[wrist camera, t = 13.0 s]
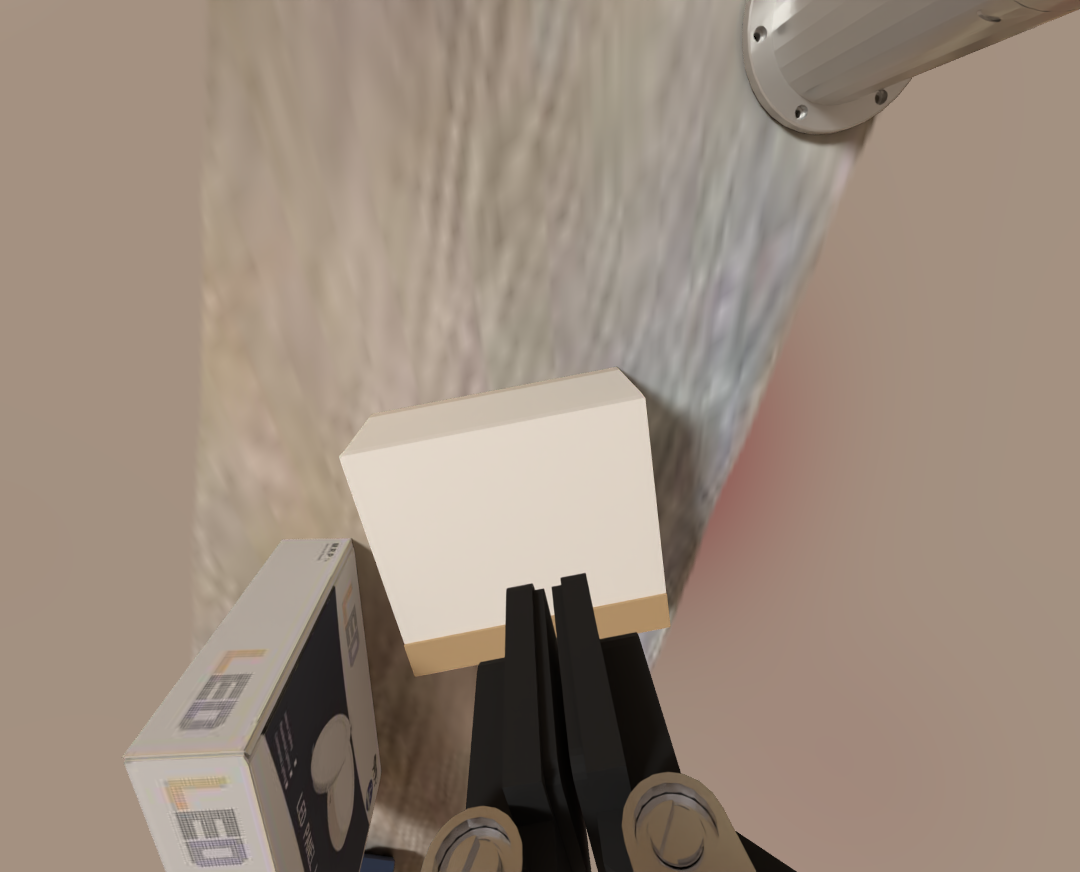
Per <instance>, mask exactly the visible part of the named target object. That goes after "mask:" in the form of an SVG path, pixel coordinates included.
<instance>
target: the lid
mask: <svg viewBox="0 0 1080 872" xmlns="http://www.w3.org/2000/svg"><path fill="white" fill-rule="evenodd" d="M339 459H340V462H341V464H342V467H343V470H344V473H345V476H346V479H347V482H348V484H349V487H350V490H351V493H352V496H353V499H354V502H355V504H356V507H357V510H358V513H359V516H360V519H361V522H362V524H363V527H364V530H365V533H366V536H367V539H368V541H369V544H370V547H371V550H372V553H373V556H374V559H375V561H376V564H377V567H378V570H379V573H380V576H381V579H382V581H383V584H384V587H385V590H386V593H387V596H388V599H389V601H390V604H391V607H392V610H393V613H394V616H395V619H396V621H397V624H398V627H399V630H400V633H401V636H402V639H403V641H404V648H405V650H406V653H407V656H408V659H409V662H410V665H411V668H412V670H413V673H414V676H415V677H418V676H423V675H428V674H433V673H438V672H443V671H449V670H454V669H459V668H464V667H469V666H474V665H479V663H480V662H483V661H488V660H493V659H499V658H504V657H505V621H506V589H507V588H510V587H516V586H521V585H526V584H531V583H532V584H533V585H534V588H535V590H538V589H543V588H544V590H545V594H546V598H547V602H548V606H549V610H550V614H551V618H552V622H553V626H554V630H555V634H556V625H555V616H554V606H553V597H552V587H553V586H558V585H561V580H560V578H561V577H566V576H571V575H576V574H582V573H586V577H587V581H588V586H589V591H590V596H591V600H592V605H593V610H594V615H595V619H596V624H597V629H598V634H599V638H600V639H603V638H608V637H613V636H618V635H623V634H629V633H634V632H637V633H642V632H647V631H652V630H657V629H663V628H668V627H670V618H669V609H668V600H667V594H666V587H665V578H664V568H663V559H662V550H661V540H660V531H659V522H658V512H657V503H656V493H655V484H654V475H653V465H652V456H651V447H650V437H649V428H648V419H647V409H646V400H645V397H644V396H643V395H642V394H641V395H636V396H631V397H626V398H621V399H615V400H610V401H605V402H600V403H595V404H590V405H584V406H579V407H574V408H569V409H564V410H558V411H553V412H548V413H543V414H538V415H533V416H527V417H522V418H517V419H512V420H507V421H501V422H496V423H491V424H486V425H481V426H476V427H470V428H465V429H460V430H455V431H450V432H445V433H439V434H434V435H429V436H424V437H419V438H413V439H408V440H403V441H398V442H393V443H388V444H382V445H377V446H372V447H367V448H362V449H356V450H351V451H346V452H342V454H341V455H340V456H339ZM556 638H557V635H556Z"/></svg>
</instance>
